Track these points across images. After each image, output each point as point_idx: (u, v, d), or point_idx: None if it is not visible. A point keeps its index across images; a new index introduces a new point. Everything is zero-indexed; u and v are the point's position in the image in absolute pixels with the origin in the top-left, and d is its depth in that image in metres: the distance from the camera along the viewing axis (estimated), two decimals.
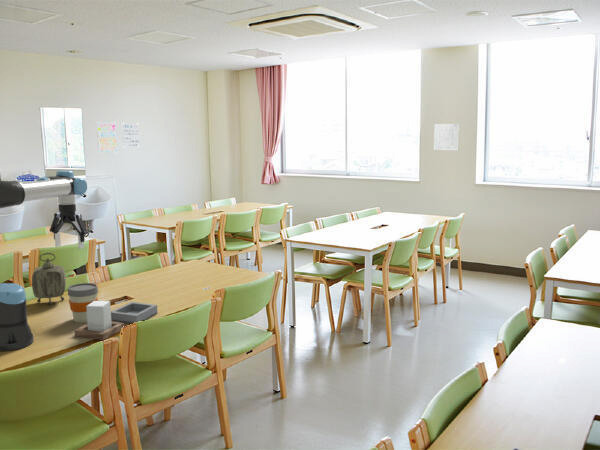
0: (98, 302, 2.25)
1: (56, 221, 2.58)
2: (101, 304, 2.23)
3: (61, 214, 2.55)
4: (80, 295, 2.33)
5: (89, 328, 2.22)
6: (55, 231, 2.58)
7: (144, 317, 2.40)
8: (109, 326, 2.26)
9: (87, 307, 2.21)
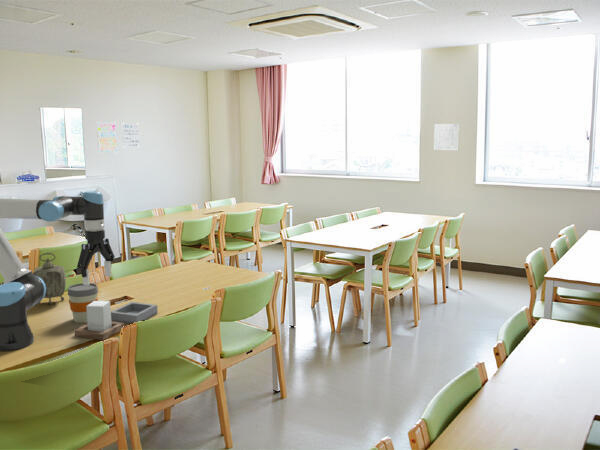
0: (98, 302, 2.25)
1: (106, 248, 2.27)
2: (101, 304, 2.23)
3: None
4: (80, 295, 2.33)
5: (89, 328, 2.22)
6: (104, 258, 2.28)
7: (144, 317, 2.40)
8: (109, 326, 2.26)
9: (87, 307, 2.21)
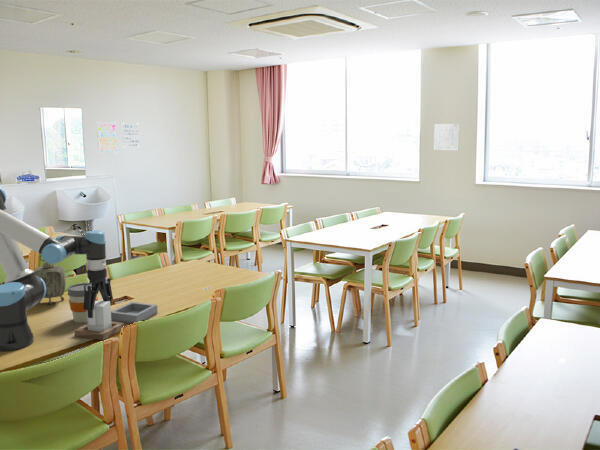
0: (98, 302, 2.25)
1: (106, 288, 2.28)
2: (101, 304, 2.23)
3: None
4: (80, 295, 2.33)
5: (89, 328, 2.22)
6: (103, 300, 2.28)
7: (144, 317, 2.40)
8: (109, 326, 2.26)
9: None
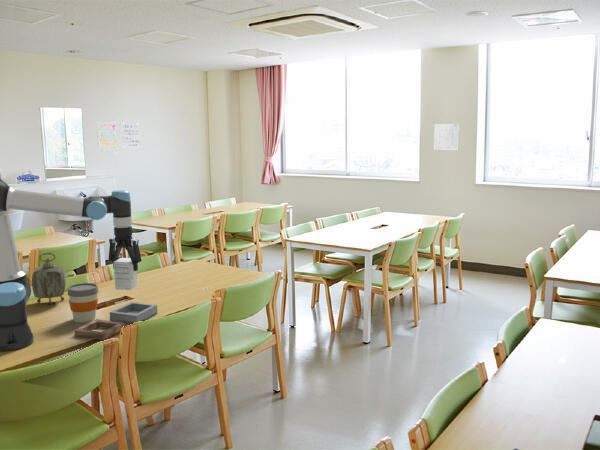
0: (122, 260, 2.35)
1: (113, 247, 2.36)
2: (128, 258, 2.37)
3: (116, 237, 2.34)
4: (80, 295, 2.33)
5: (131, 283, 2.34)
6: (114, 259, 2.36)
7: (144, 317, 2.40)
8: None
9: (129, 263, 2.32)
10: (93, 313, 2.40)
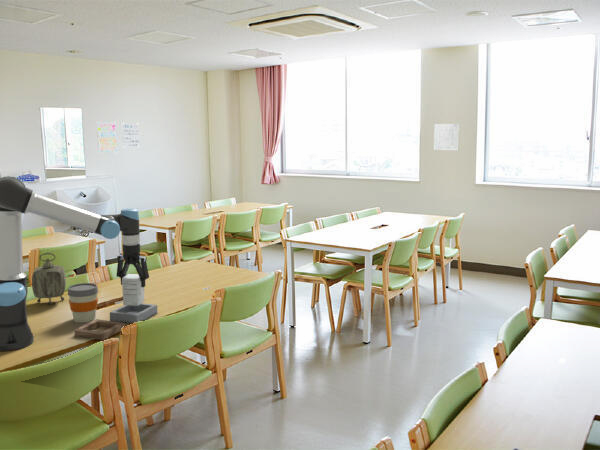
0: (130, 276, 2.41)
1: (121, 264, 2.43)
2: (136, 275, 2.43)
3: (124, 255, 2.40)
4: (80, 295, 2.33)
5: (139, 299, 2.41)
6: (122, 276, 2.42)
7: (144, 317, 2.40)
8: None
9: (137, 279, 2.39)
10: (93, 313, 2.40)
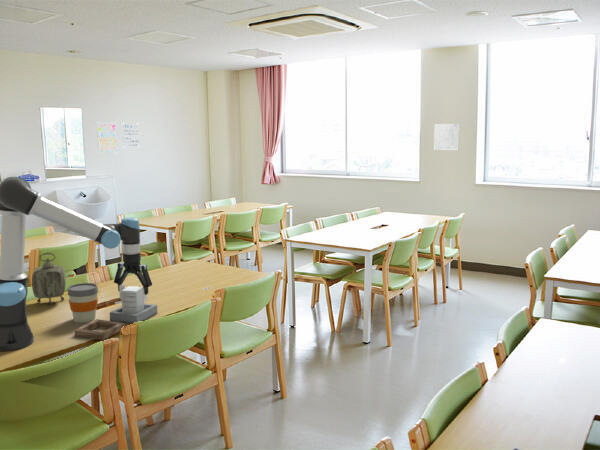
0: (130, 288, 2.42)
1: (120, 271, 2.43)
2: (136, 287, 2.44)
3: (125, 264, 2.41)
4: (80, 295, 2.33)
5: (138, 311, 2.41)
6: (120, 282, 2.43)
7: (144, 317, 2.40)
8: None
9: (136, 292, 2.39)
10: (93, 313, 2.40)
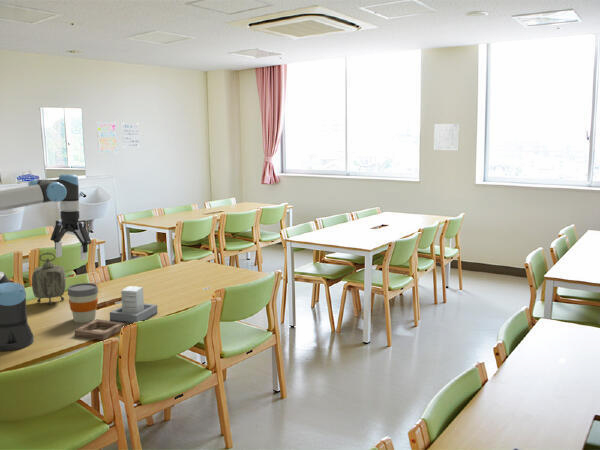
0: (130, 288, 2.42)
1: (58, 229, 2.37)
2: (136, 287, 2.44)
3: (63, 222, 2.34)
4: (80, 295, 2.33)
5: (138, 311, 2.41)
6: (56, 240, 2.36)
7: (144, 317, 2.40)
8: None
9: (136, 292, 2.39)
10: (93, 313, 2.40)
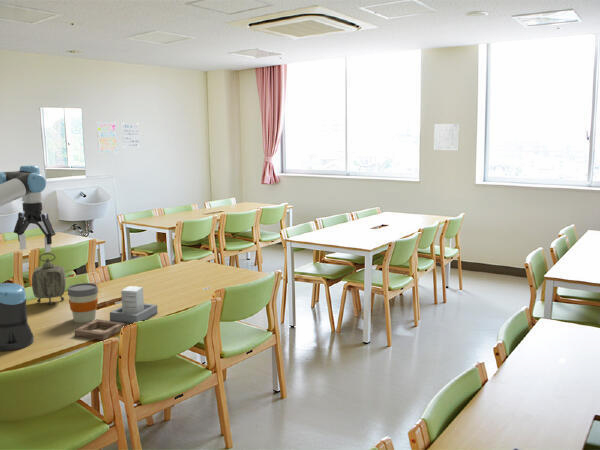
0: (130, 288, 2.42)
1: (21, 221, 2.34)
2: (136, 287, 2.44)
3: (26, 214, 2.31)
4: (80, 295, 2.33)
5: (138, 311, 2.41)
6: (19, 232, 2.34)
7: (144, 317, 2.40)
8: None
9: (136, 292, 2.39)
10: (93, 313, 2.40)
